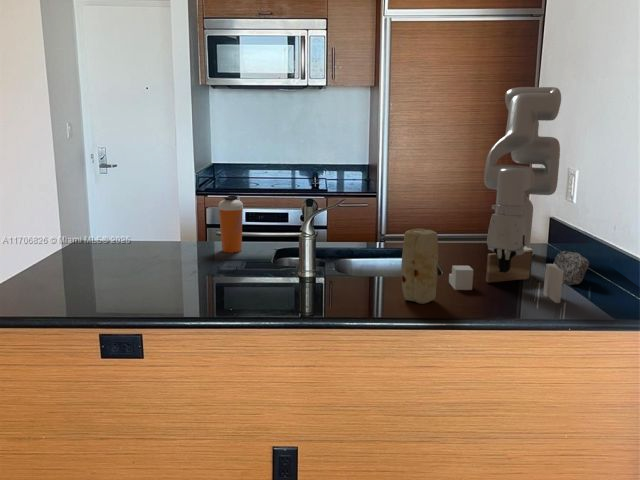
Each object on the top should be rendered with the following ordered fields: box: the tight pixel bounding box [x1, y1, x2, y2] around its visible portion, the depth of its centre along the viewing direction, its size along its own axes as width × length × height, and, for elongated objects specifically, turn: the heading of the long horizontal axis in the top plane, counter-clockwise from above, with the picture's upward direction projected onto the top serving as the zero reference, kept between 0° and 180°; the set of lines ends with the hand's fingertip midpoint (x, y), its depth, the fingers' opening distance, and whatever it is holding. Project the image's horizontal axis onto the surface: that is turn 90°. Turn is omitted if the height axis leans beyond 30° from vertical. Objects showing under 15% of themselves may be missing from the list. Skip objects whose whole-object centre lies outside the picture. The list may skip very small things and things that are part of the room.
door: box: [485, 250, 534, 283], centre depth 179 cm, size 3×16×9 cm, turn 109°
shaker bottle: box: [218, 195, 244, 254], centre depth 213 cm, size 9×9×20 cm
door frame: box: [524, 246, 563, 304], centre depth 174 cm, size 2×33×9 cm, turn 0°
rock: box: [552, 250, 590, 286], centre depth 180 cm, size 16×8×10 cm, turn 173°
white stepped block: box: [448, 265, 474, 291], centre depth 174 cm, size 8×5×6 cm, turn 0°
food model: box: [400, 228, 439, 305], centre depth 158 cm, size 10×7×20 cm
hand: (504, 271), depth 174 cm, fingers closed
